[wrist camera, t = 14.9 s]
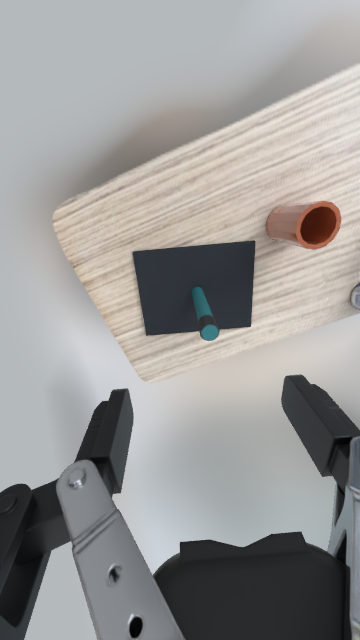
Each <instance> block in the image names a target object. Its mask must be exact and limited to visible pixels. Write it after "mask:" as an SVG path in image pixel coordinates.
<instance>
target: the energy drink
mask: <svg viewBox="0 0 360 640" xmlns="http://www.w3.org/2000/svg"><path fill="white" fill-rule="evenodd" d="M351 303H352V305H353V306H354V307H355V308H356V309H358V310H360V284H359V285H357V286H356V287H355V289H354V290H353V292H352V295H351Z"/></svg>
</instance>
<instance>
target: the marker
mask: <svg viewBox="0 0 360 640" xmlns="http://www.w3.org/2000/svg"><path fill="white" fill-rule="evenodd" d="M192 296H193V301H194V305H195V309H196V314H197V318H198V326H199V331H200V335H201V337H202V338H203V339H204V340H207V341H212V340H214V339H216V338H217V337H218V335H219V328H218V326H217V323H216V321H215V319H214V317H213V315H212V313H211V310H210V308H209V305H208V303H207V300H206V297H205V295H204V292H203V290H202V288H200V287H195V288H193V290H192Z"/></svg>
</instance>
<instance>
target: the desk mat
mask: <svg viewBox="0 0 360 640" xmlns="http://www.w3.org/2000/svg"><path fill="white" fill-rule="evenodd" d="M254 255H255V241H245V242H234V243H223V244H212V245H201V246H190V247H178V248H167V249H156V250H145V251H134V252H133V257H134V263H135V269H136V275H137V281H138V287H139V294H140V300H141V306H142V312H143V318H144V324H145V330H146V335H147V336H148V335H159V334H171V333H183V332H195V331H199V326H198V318H197V314H196V309H195V305H194V301H193V296H192V290H193V288H195V287H200V288H202V290H203V292H204V295H205V297H206V300H207V303H208V305H209V308H210V310H211V313H212V315H213V317H214V319H215V321H216V323H217V326H218V328H219V329H230V328H242V327H251V314H252V294H253V275H254Z"/></svg>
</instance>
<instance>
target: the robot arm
mask: <svg viewBox="0 0 360 640" xmlns="http://www.w3.org/2000/svg"><path fill="white" fill-rule="evenodd" d="M281 400H282V407H283V410H284V412H285V414H286V415H287V417H288V419H289V420H290V422H291V424H292V426H293V427H294V429H295V431H296V432H297V434H298V436H299V437H300V439H301V441H302V443H303V445H304V446H305V448H306V449H307V451H308V453H309V455H310V456H311V458H312V460H313V461H314V463H315V465H316V467H317V469H318V470H319V472H320V474H321V475H322V477H325V476H333V477H334V479H335V480H336V485H335V495H334V505H333V506H334V507H333V518H332V530H331V536H330V541H329V545H328V551H324V550H323V549H321V548H319V547H317V546H314V545H311V544H309V543H306V542H305V539H304V537H303V535H302V532H291V533H279V534H271V535H269V536H267V537H265V538H263V539H260V540H258V541H257V542H254V543H252V544H250V545H248V546H246V547H237V546H233V545H229V544H225V543H221V542H217V541H213V540H200V541H188V542H180V553H178V554H176V555H174V556H173V557H171V558H170V559H168V560H167V561H166V562H164V563H163V564H162V565H161V566H160V567H159V568H158V570H157V571H156V572H155V573H154V574H153V575H152V573H151V572H150V569H149V568H148V566H147V564H146V562H145V560H144V558H143V556H142V554H141V552H140V550H139V548H138V546H137V544H136V542H135V540H134V538H133V536H132V534H131V532H130V530H129V528H128V526H127V524H126V522H125V520H124V518H123V516H122V514H121V512H120V511H119V509H117V508H116V506H115V504H114V502H113V500H112V495H113V494H116V493H121V489H122V483H123V477H124V472H125V465H126V460H127V455H128V448H129V443H130V438H131V432H132V426H133V408H132V404H131V400H130V394H129V390H128V389H117V390H113V391H112V392H111V395H110V398H109V401H102V402H101V403H100V404H99V405H98V406H97V408H96V409H95V410H94V413H93V415H92V418H91V421H90V423H89V426H88V429H87V431H86V434H85V436H84V439H83V442H82V444H81V447H80V449H79V452H78V454H77V457H76V460H75V461H74V463H73V464H71V465H70V466H68V468H66V469H65V470H64V471H63V473H62V474H61V476H60V477H59V478H58V479H57V480H55V481H53V482H50V483H48V484H45V485H43V486H40V487H38V488H36V489H33V490H31V489H30V488H29V486H28V485H26V484H16V485H13V486H10V487H9V488H7V489H5V490H4V491H2V492H1V493H0V640H24V638H25V635H26V631H27V628H28V625H29V622H30V618H31V615H32V612H33V609H34V605H35V602H36V599H37V596H38V592H39V589H40V586H41V583H42V579H43V576H44V572H45V569H46V566H47V563H48V560H49V557H50V554H51V550H53V549H55V548H57V547H59V546H61V545H63V544H65V543H68V542H70V541H71V542H72V545H73V548H72V552H73V557H74V560H75V564H76V567H77V571H78V574H79V577H80V581H81V584H82V588H83V591H84V594H85V598H86V601H87V605H88V608H89V612H90V615H91V618H92V622H93V625H94V629H95V632H96V635H97V639H98V640H360V430H359V429H358V428H357V427H356V425H355V424H354V423H353V422H352V421H351V420H350V419H349V417H348V416H347V415H346V414H345V413H344V412H343V411H342V410H341V409H340V408H339V406H338V405H337V404H336V403H335V402H334V401H333V399H332V398H331V397H330V396H329V395H328V394H327V392H326V391H324V390H323V389H321V388H320V387H318V386H317V385H315V384H310V383H309V382H308V381H307V379H306V378H305V377H304V376H303V375H290V376H286V377H285V379H284V385H283V392H282V398H281Z"/></svg>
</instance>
